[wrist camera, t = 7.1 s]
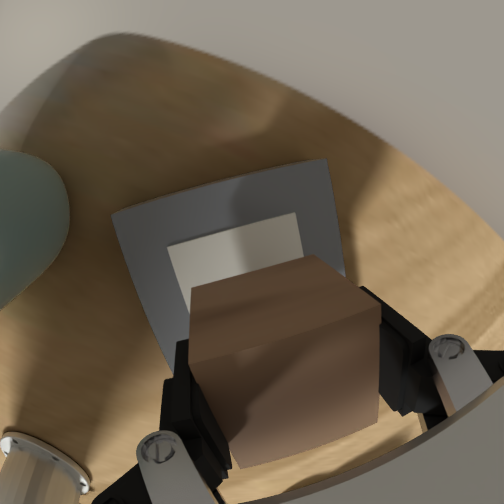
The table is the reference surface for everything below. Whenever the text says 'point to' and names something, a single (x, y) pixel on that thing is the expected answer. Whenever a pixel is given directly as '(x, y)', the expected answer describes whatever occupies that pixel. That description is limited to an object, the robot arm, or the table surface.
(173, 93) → the table surface
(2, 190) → the cup
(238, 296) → the walnut cube
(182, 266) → the slate base
